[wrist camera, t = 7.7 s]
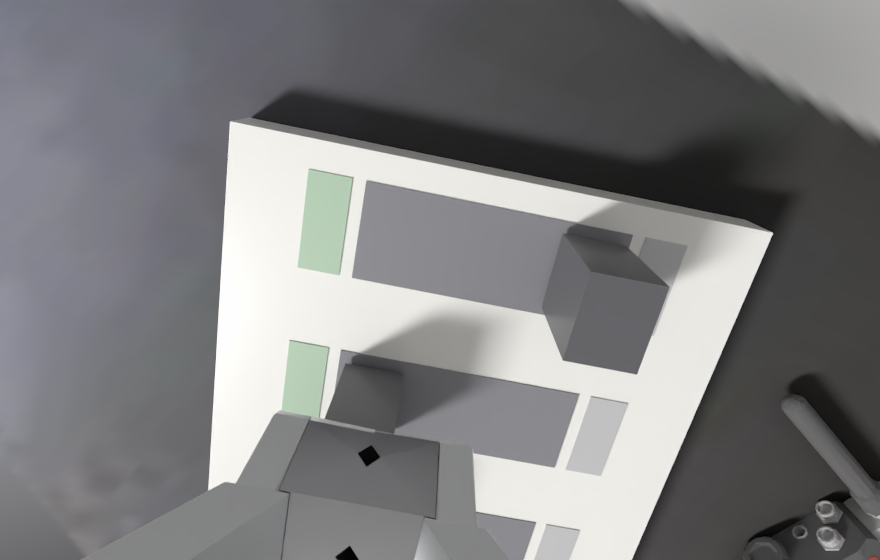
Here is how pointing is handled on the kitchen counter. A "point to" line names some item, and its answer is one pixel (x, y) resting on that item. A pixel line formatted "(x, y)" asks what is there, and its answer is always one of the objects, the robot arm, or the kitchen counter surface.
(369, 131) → the kitchen counter surface
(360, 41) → the kitchen counter surface
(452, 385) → the breaker panel
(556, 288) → the block
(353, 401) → the block
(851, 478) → the walkie-talkie
